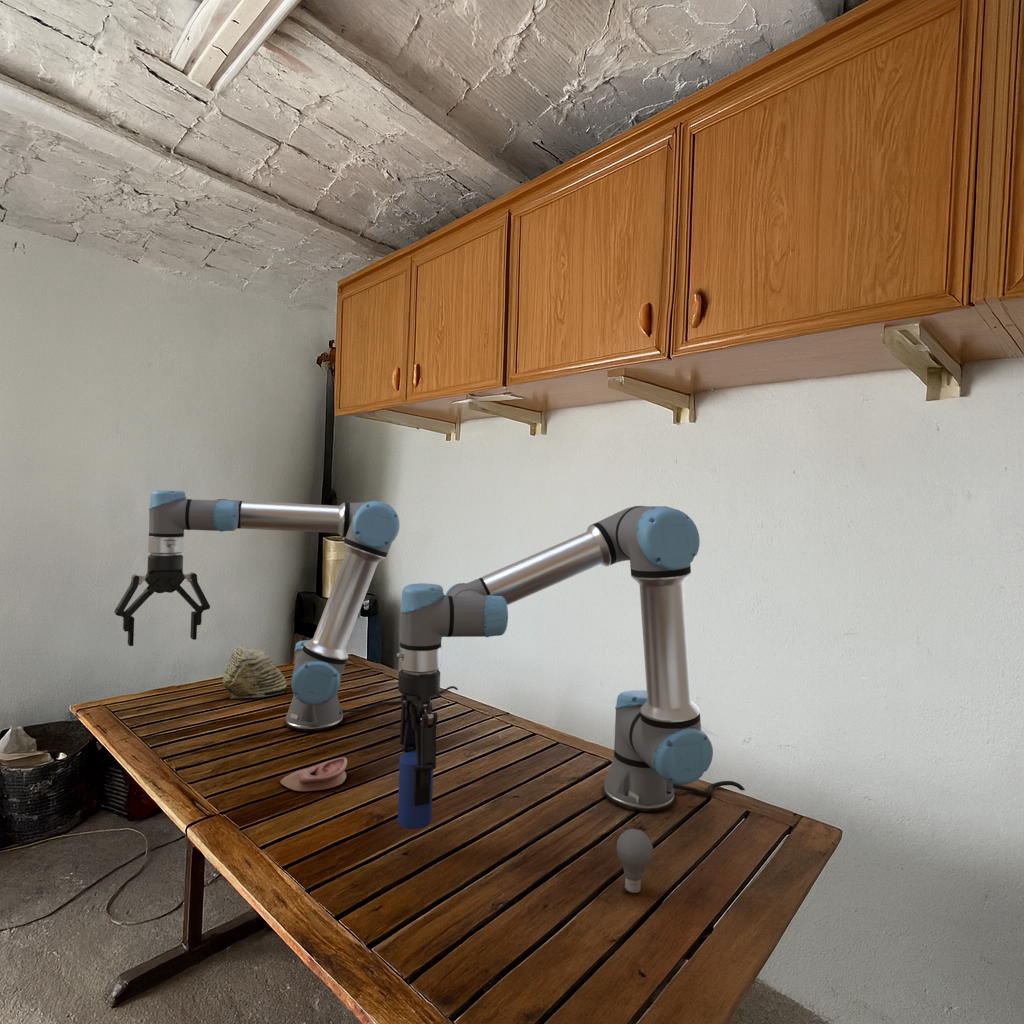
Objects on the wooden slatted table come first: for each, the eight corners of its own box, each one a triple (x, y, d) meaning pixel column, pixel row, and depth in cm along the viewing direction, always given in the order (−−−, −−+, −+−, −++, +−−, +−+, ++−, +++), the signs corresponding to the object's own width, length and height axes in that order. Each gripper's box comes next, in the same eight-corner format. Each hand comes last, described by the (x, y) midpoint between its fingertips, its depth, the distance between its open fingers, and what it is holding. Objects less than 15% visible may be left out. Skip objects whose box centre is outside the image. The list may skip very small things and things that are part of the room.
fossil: (218, 695, 195) (220, 647, 195) (278, 685, 208) (279, 640, 207) (228, 703, 189) (230, 653, 188) (289, 692, 201) (290, 645, 201)
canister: (402, 811, 119) (404, 749, 118) (434, 813, 118) (436, 751, 118) (393, 827, 113) (395, 763, 112) (427, 830, 112) (430, 765, 112)
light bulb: (610, 879, 108) (613, 822, 108) (644, 879, 109) (647, 822, 109) (619, 902, 102) (622, 840, 102) (655, 901, 103) (658, 840, 103)
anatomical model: (273, 769, 136) (301, 749, 148) (272, 787, 136) (300, 766, 148) (329, 777, 134) (353, 756, 145) (329, 796, 134) (353, 773, 145)
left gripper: (107, 556, 142) (104, 651, 142) (225, 554, 158) (222, 639, 158) (102, 553, 147) (99, 644, 148) (216, 551, 164) (213, 633, 164)
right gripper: (385, 658, 122) (381, 777, 122) (416, 686, 105) (411, 824, 105) (422, 655, 125) (418, 771, 126) (458, 682, 108) (453, 816, 109)
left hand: (162, 641), depth 153 cm, fingers open, 13 cm apart
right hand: (415, 795), depth 115 cm, fingers closed on canister, 6 cm apart
